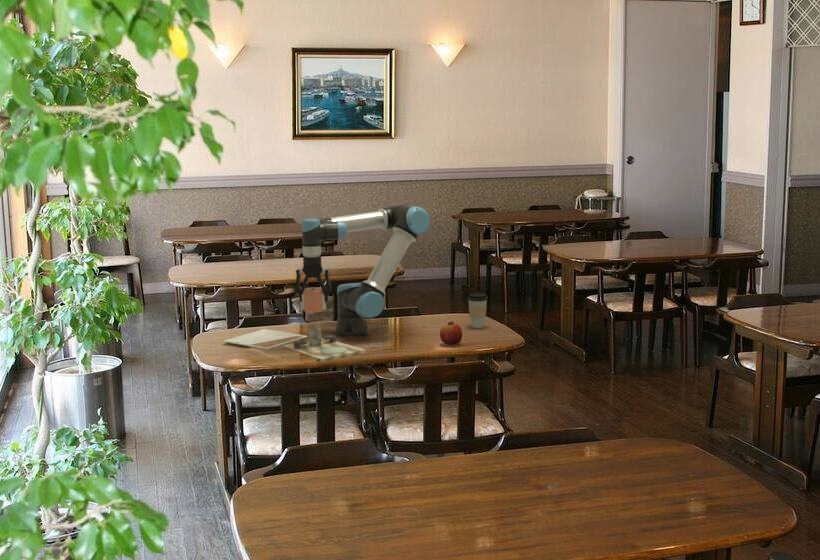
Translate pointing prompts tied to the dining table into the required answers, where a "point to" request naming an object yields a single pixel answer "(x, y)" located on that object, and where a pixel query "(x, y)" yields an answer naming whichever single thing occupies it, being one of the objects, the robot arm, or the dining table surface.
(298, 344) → the lock station
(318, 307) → the pink cylinder
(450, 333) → the fruit
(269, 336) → the plate
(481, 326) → the coffee cup
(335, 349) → the coaster
